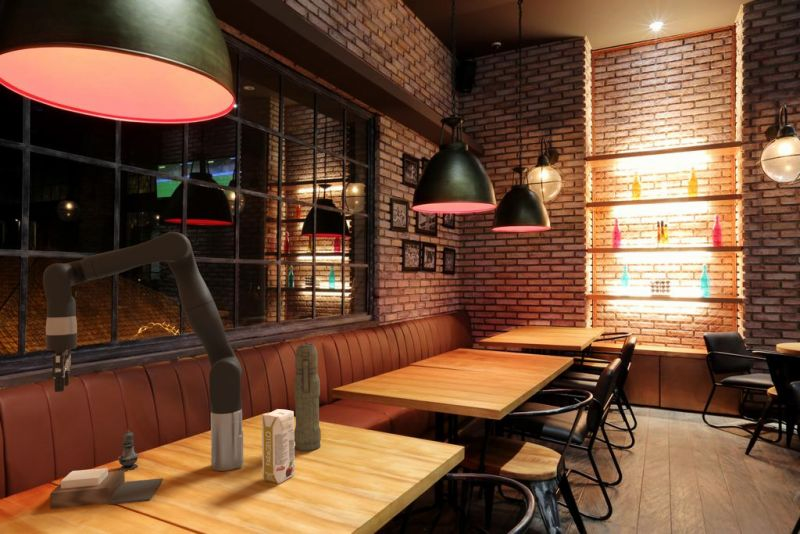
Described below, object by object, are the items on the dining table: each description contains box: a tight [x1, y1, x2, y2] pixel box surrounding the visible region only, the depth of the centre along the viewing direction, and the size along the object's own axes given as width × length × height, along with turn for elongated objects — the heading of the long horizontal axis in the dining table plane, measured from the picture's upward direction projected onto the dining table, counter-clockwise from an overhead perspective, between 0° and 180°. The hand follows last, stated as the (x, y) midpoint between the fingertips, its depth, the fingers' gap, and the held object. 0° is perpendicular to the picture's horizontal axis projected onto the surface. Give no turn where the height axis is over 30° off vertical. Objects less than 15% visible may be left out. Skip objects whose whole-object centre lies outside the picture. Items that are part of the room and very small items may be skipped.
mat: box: [108, 477, 164, 505], centre depth 142 cm, size 10×14×1 cm
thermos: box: [293, 343, 322, 453], centre depth 176 cm, size 9×12×35 cm
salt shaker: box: [117, 429, 140, 472], centre depth 160 cm, size 6×6×12 cm
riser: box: [49, 470, 126, 510], centre depth 139 cm, size 14×12×4 cm
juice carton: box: [261, 408, 296, 484], centre depth 150 cm, size 8×9×19 cm
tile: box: [60, 467, 109, 489], centre depth 139 cm, size 9×7×2 cm
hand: (62, 388), depth 149 cm, fingers open, 8 cm apart
